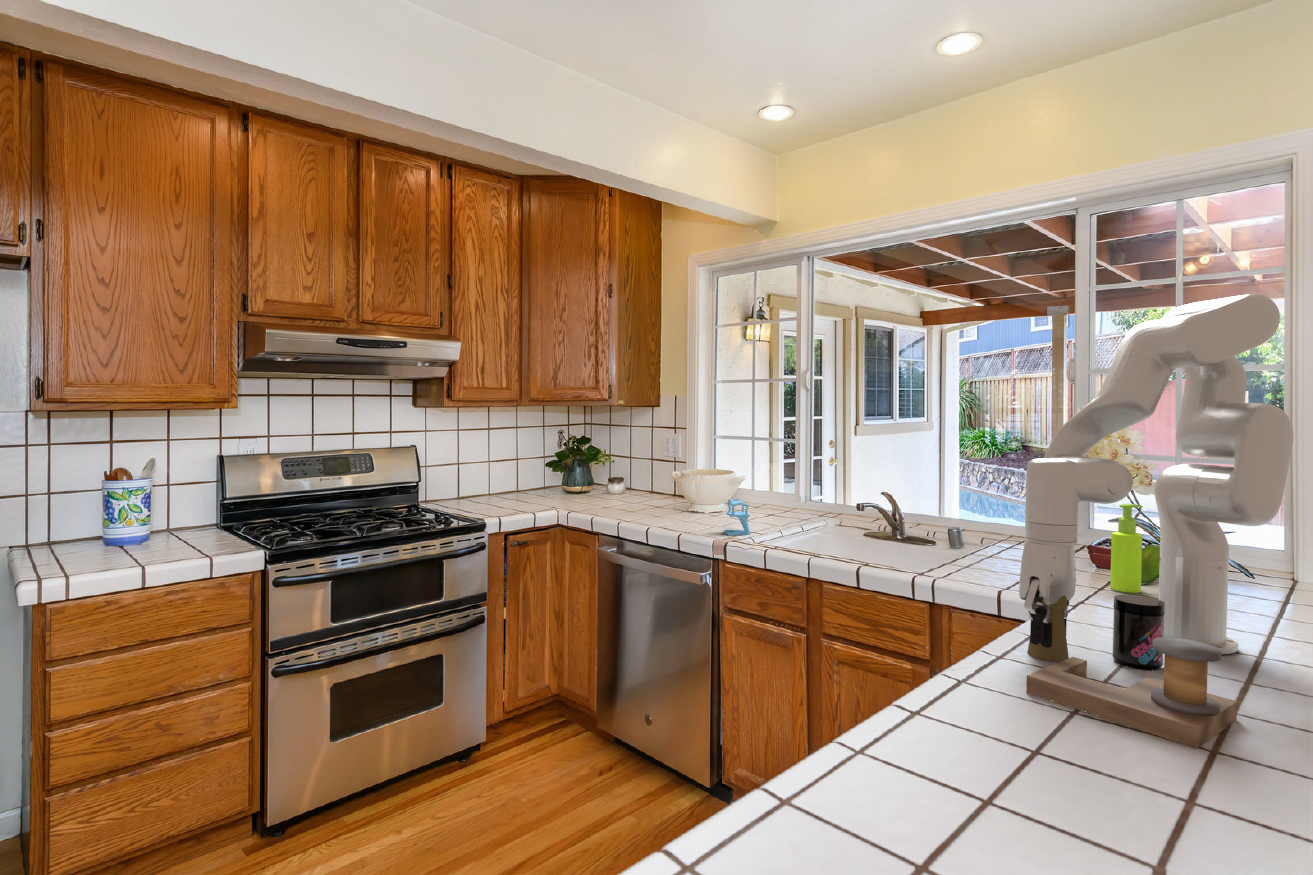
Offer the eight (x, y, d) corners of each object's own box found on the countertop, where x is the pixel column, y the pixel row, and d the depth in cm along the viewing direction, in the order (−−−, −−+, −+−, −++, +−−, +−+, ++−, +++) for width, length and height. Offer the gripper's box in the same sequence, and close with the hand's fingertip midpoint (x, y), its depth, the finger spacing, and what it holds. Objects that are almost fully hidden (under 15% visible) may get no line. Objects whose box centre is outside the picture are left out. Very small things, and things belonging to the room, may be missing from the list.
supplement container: (1120, 669, 107) (1122, 603, 107) (1105, 655, 113) (1107, 593, 113) (1170, 674, 105) (1172, 607, 105) (1152, 659, 112) (1154, 596, 111)
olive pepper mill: (1031, 646, 117) (1032, 583, 117) (1071, 654, 113) (1073, 589, 113) (1023, 656, 113) (1025, 590, 112) (1065, 664, 109) (1067, 596, 108)
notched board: (1072, 672, 105) (1074, 608, 105) (1236, 720, 89) (1238, 643, 88) (1026, 692, 97) (1027, 622, 97) (1197, 748, 81) (1199, 664, 81)
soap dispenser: (1149, 591, 157) (1152, 505, 157) (1129, 593, 155) (1132, 506, 154) (1124, 585, 163) (1126, 502, 162) (1104, 587, 160) (1106, 503, 160)
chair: (752, 535, 228) (753, 500, 228) (728, 536, 227) (729, 500, 227) (746, 532, 236) (747, 497, 236) (723, 532, 235) (723, 497, 235)
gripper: (1051, 526, 120) (1049, 628, 121) (1001, 534, 111) (999, 645, 111) (1098, 532, 114) (1095, 640, 115) (1049, 541, 105) (1046, 659, 105)
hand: (1048, 641), depth 113 cm, fingers closed on olive pepper mill, 4 cm apart
